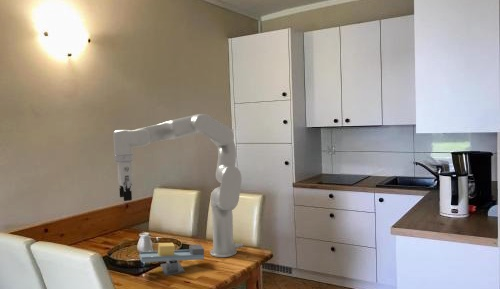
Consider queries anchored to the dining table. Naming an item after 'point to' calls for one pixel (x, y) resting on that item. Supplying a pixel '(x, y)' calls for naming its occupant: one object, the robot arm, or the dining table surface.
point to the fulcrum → (172, 268)
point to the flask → (147, 244)
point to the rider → (166, 249)
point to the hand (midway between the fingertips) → (125, 198)
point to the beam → (191, 254)
